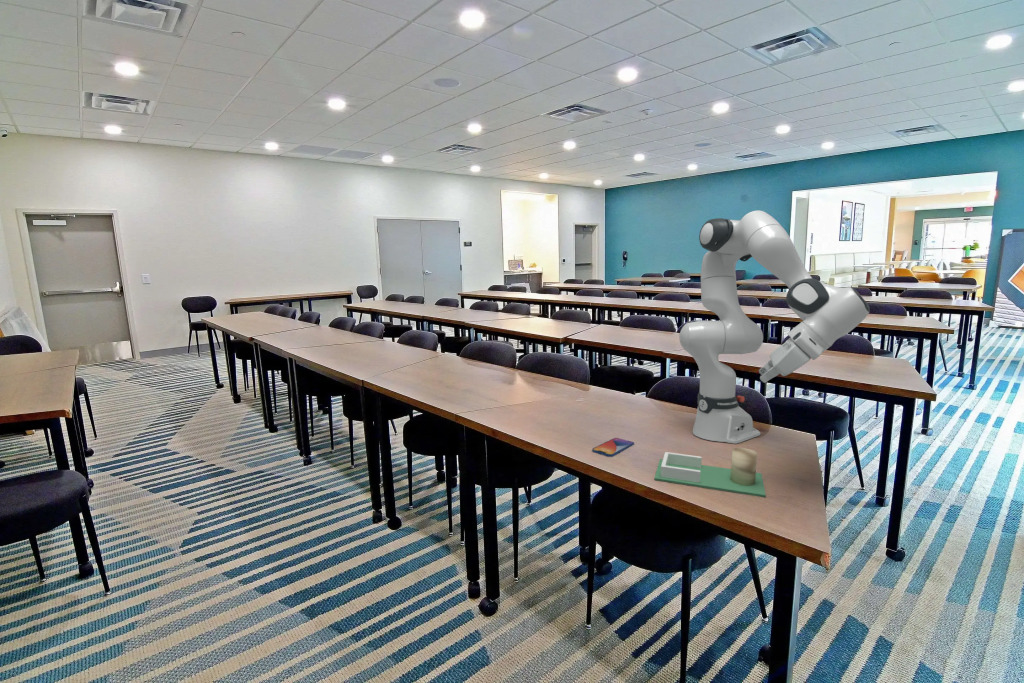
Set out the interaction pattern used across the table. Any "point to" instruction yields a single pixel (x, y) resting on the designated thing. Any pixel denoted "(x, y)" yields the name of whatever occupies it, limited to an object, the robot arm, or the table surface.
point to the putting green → (702, 475)
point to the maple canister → (743, 466)
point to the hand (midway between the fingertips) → (761, 376)
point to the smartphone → (612, 447)
